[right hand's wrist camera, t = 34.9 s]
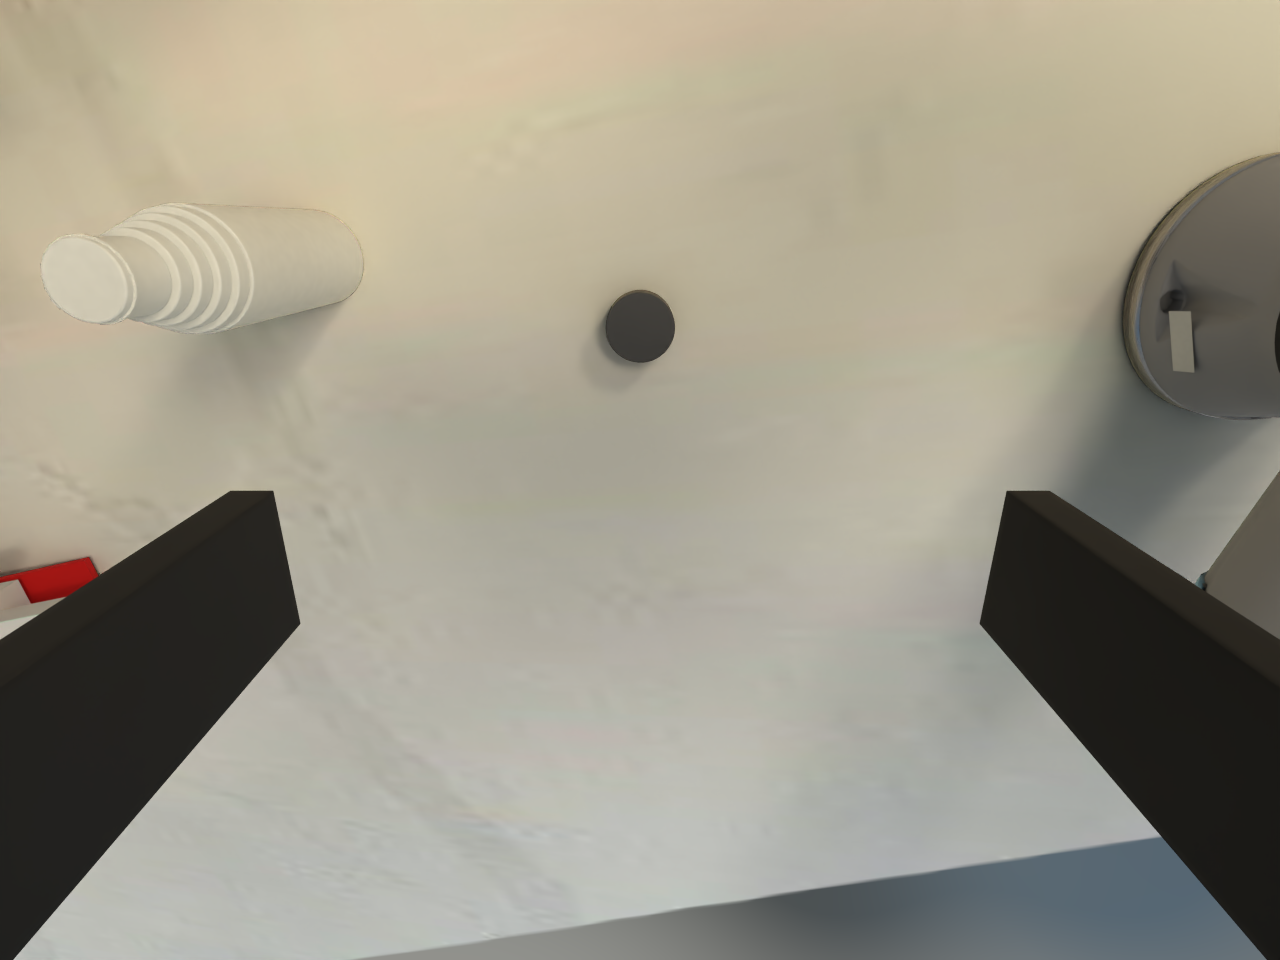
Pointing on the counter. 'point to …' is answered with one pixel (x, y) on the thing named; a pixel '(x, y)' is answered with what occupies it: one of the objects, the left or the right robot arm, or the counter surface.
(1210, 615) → the right robot arm
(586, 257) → the counter surface
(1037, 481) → the counter surface
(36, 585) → the toy
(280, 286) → the bottle
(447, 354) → the counter surface
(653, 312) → the cap
